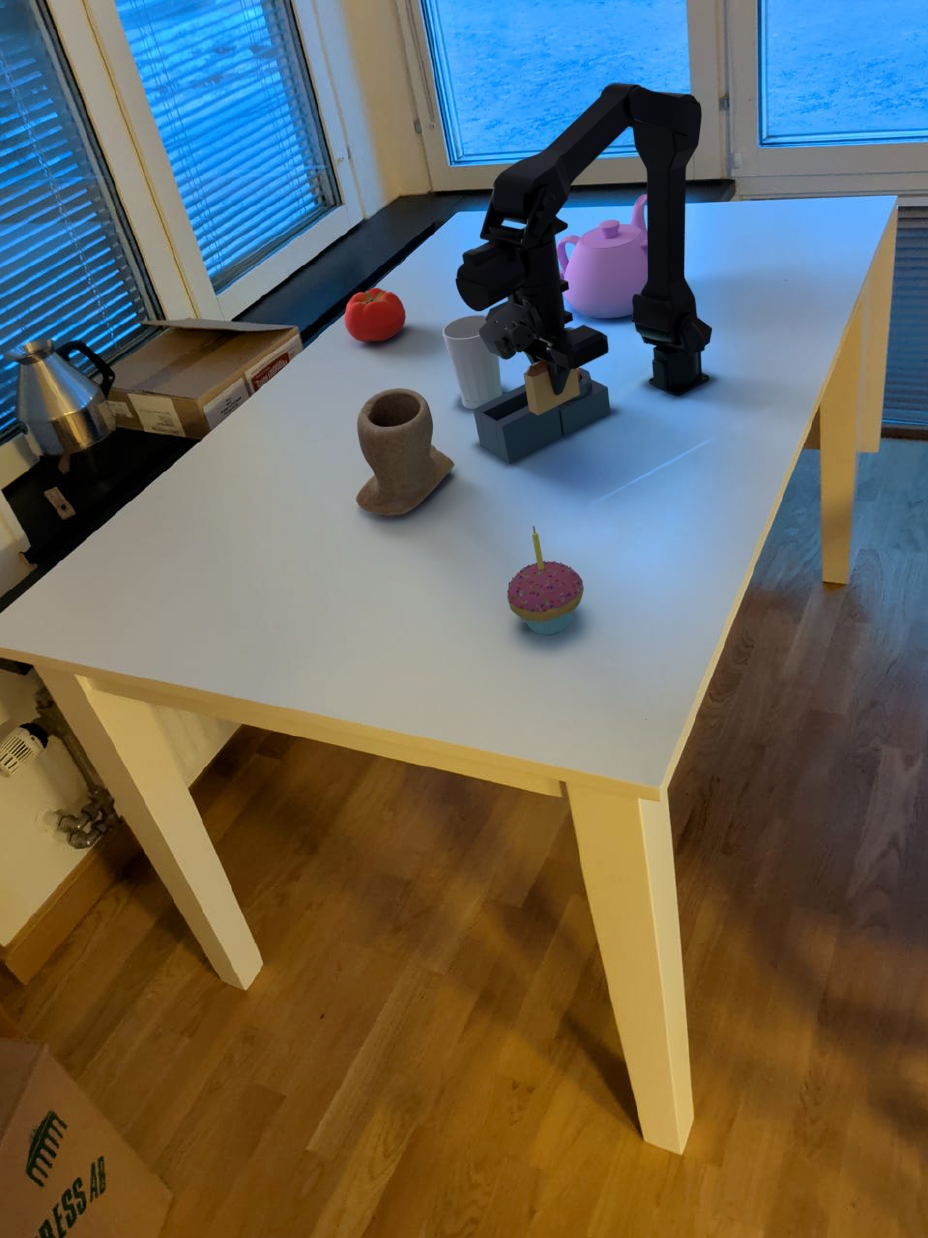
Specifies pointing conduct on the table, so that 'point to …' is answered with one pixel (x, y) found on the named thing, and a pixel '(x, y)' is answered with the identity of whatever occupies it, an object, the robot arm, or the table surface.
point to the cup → (472, 361)
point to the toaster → (515, 426)
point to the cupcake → (545, 593)
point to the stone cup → (398, 452)
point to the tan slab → (547, 388)
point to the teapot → (606, 266)
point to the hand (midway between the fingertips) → (553, 391)
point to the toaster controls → (584, 404)
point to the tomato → (374, 315)
